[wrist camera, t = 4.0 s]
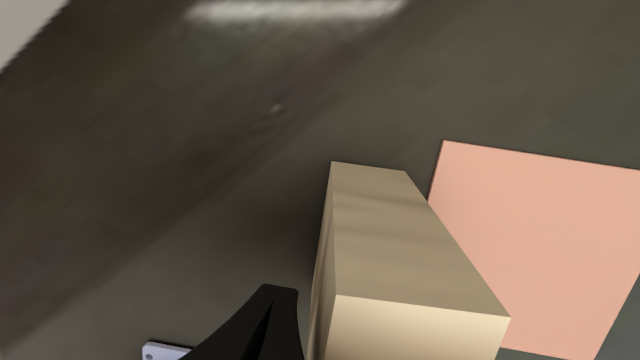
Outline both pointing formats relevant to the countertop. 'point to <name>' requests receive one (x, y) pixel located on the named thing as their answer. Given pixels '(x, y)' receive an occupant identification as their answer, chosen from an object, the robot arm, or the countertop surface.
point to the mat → (544, 240)
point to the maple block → (395, 277)
